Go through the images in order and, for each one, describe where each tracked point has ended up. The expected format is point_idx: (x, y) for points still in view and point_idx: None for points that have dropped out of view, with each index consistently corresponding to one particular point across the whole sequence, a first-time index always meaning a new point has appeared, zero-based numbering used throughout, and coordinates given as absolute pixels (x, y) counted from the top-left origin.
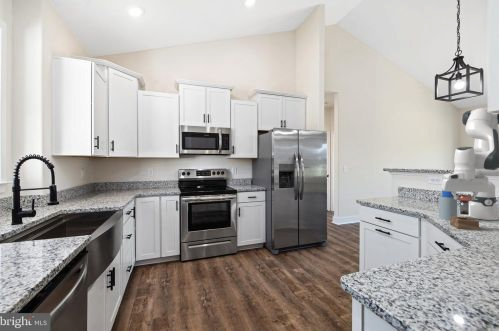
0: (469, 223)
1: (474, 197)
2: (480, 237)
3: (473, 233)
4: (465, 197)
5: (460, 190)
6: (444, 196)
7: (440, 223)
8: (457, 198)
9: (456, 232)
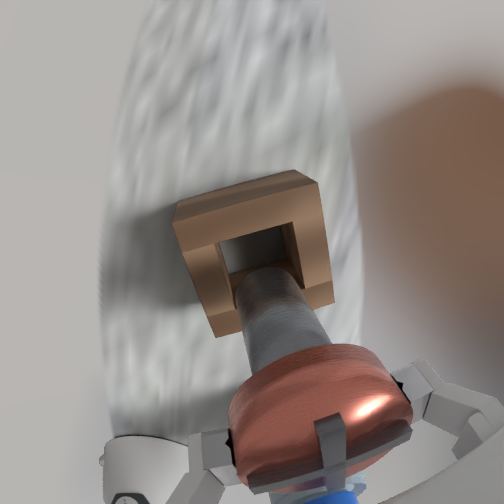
0: (235, 198)
1: (197, 462)
2: (208, 16)
3: (225, 93)
4: (349, 389)
5: (463, 481)
6: (349, 491)
7: (357, 268)
8: (408, 373)
9: (321, 69)
